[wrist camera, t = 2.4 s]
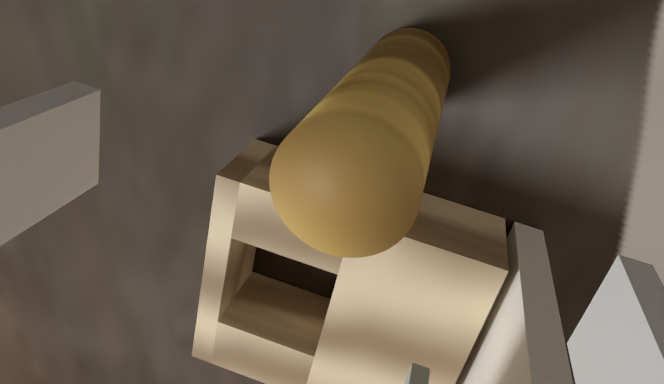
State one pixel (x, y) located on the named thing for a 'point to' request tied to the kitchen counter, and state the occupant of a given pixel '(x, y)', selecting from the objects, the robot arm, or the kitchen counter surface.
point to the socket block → (343, 291)
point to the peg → (365, 149)
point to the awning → (518, 324)
